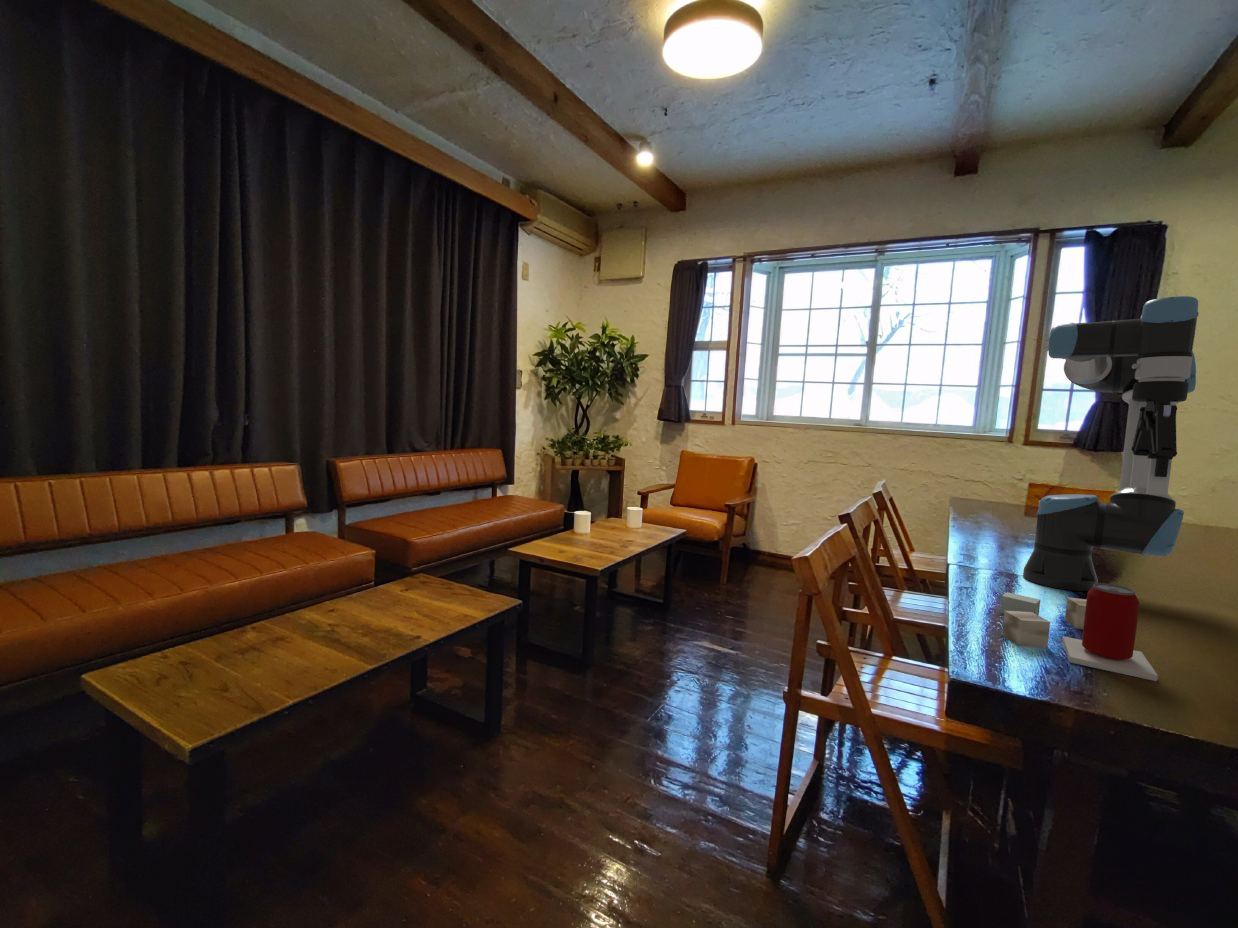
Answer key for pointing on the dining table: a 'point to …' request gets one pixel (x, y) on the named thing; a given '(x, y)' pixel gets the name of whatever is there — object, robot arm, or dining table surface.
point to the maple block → (1026, 629)
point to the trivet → (1109, 661)
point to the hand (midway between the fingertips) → (1147, 490)
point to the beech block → (1075, 612)
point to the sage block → (1019, 603)
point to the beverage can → (1110, 621)
